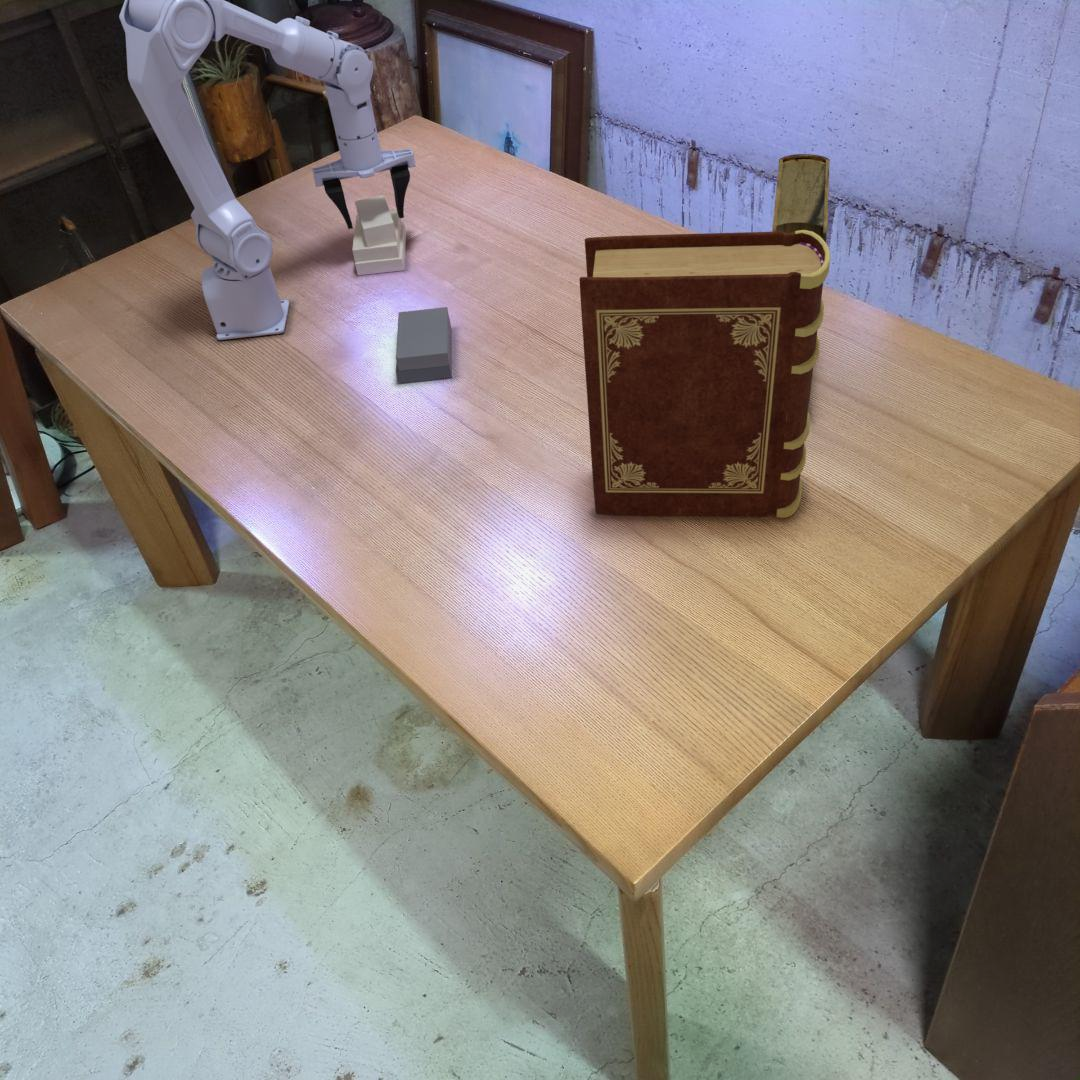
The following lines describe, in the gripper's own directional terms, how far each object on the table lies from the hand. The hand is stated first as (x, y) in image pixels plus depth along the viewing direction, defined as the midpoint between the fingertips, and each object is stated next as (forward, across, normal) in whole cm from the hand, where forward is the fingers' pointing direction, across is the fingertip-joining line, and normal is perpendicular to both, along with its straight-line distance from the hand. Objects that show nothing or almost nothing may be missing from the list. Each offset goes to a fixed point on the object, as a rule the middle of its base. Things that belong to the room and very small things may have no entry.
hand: (375, 220), depth 157 cm
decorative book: (+6, +25, -66) cm, 71 cm away
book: (+6, +43, -50) cm, 67 cm away
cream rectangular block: (+2, 0, 0) cm, 2 cm away
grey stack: (+6, +1, -29) cm, 29 cm away
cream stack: (+6, 0, 0) cm, 6 cm away
